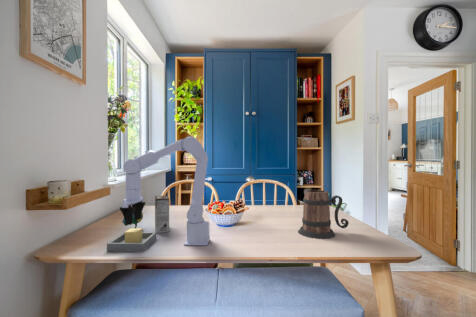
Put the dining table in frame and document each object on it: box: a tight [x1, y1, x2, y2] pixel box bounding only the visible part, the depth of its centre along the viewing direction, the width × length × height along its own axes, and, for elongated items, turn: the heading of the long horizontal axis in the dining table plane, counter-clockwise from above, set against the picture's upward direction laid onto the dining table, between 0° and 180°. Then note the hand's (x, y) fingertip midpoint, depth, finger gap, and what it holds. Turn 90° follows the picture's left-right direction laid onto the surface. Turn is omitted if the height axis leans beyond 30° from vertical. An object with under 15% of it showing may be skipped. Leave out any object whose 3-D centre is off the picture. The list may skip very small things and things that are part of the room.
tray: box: [106, 231, 157, 252], centre depth 98 cm, size 14×14×3 cm
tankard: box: [297, 189, 349, 240], centre depth 113 cm, size 24×17×20 cm
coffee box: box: [154, 195, 170, 234], centre depth 118 cm, size 9×6×16 cm
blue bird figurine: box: [121, 211, 144, 228], centre depth 115 cm, size 13×12×6 cm
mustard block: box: [124, 227, 143, 243], centre depth 98 cm, size 5×5×5 cm
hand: (133, 221), depth 98 cm, fingers open, 7 cm apart
